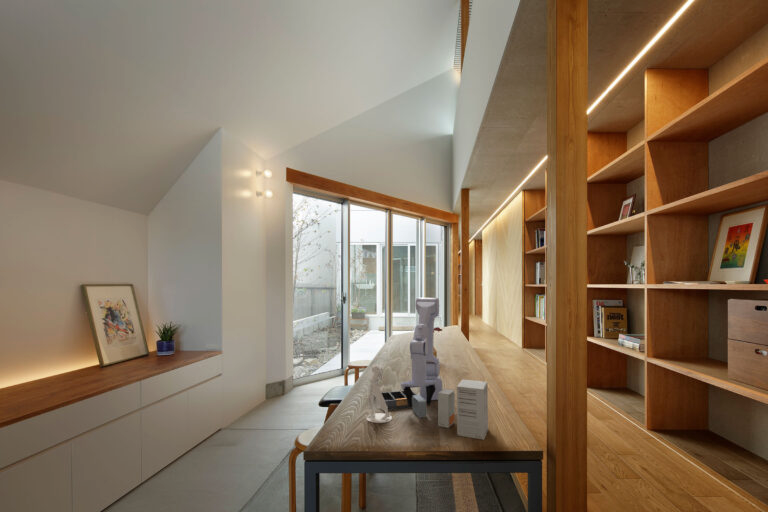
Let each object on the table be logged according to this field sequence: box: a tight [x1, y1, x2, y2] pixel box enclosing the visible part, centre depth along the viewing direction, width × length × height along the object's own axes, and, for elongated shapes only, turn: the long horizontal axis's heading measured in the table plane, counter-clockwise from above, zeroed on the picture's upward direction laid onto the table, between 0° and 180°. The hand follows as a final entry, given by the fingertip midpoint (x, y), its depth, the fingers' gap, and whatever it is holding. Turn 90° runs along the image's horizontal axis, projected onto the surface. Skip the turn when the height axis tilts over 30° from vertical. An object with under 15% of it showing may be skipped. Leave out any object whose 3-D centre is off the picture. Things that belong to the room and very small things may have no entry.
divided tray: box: [381, 389, 418, 411], centre depth 168 cm, size 16×11×4 cm
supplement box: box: [456, 379, 489, 440], centre depth 138 cm, size 10×9×17 cm
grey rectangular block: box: [412, 395, 427, 419], centre depth 156 cm, size 3×8×6 cm, turn 14°
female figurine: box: [351, 364, 393, 424], centre depth 153 cm, size 11×16×20 cm
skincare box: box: [437, 388, 456, 429], centre depth 145 cm, size 6×4×12 cm
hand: (419, 405), depth 156 cm, fingers open, 7 cm apart
